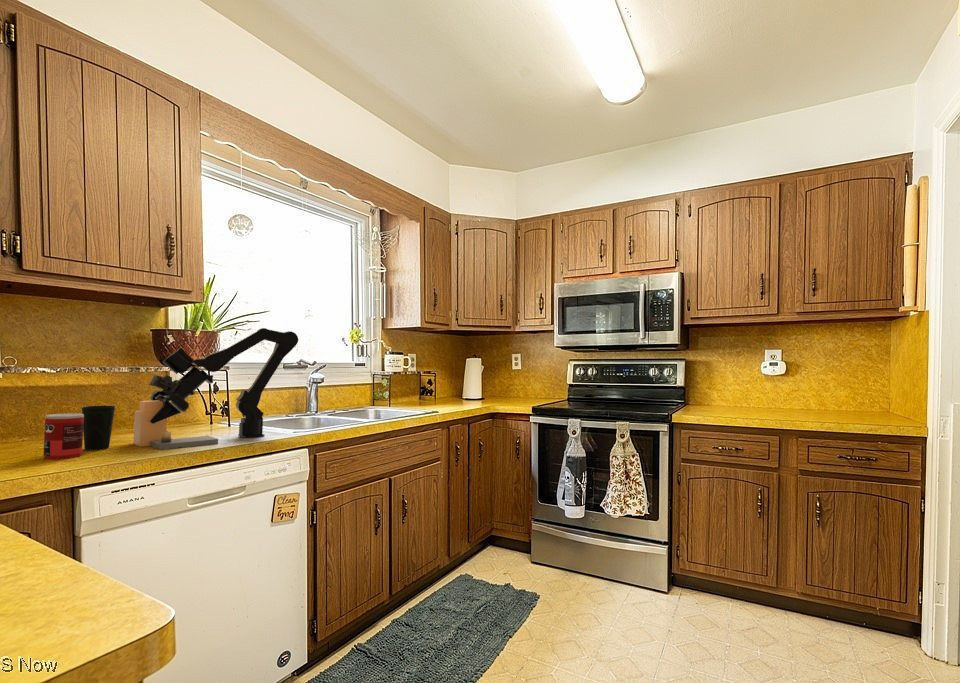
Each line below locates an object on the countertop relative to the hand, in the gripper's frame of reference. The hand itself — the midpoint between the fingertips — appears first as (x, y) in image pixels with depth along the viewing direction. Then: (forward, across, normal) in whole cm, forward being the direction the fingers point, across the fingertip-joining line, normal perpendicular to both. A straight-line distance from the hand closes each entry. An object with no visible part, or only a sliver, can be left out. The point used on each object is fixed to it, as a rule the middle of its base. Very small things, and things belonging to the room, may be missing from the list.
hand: (146, 421), depth 153 cm
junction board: (-1, +8, +11) cm, 14 cm away
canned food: (+20, +8, -10) cm, 23 cm away
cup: (+14, 0, -3) cm, 14 cm away
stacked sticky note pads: (+4, 0, +6) cm, 7 cm away
